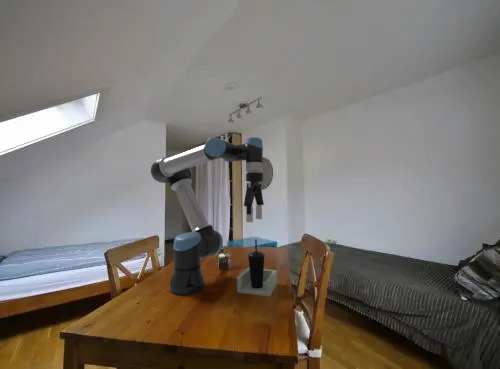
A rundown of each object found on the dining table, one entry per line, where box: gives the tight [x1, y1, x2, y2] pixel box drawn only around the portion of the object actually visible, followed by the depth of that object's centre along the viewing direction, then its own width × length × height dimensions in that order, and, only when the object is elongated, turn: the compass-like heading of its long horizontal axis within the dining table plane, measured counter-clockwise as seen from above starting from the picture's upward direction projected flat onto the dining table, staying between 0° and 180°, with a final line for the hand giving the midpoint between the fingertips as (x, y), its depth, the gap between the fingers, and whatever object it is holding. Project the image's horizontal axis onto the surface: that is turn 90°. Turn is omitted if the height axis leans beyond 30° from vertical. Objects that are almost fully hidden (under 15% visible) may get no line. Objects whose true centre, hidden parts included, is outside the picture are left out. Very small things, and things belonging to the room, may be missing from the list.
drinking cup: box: [247, 239, 266, 288], centre depth 101 cm, size 8×8×20 cm
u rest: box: [236, 267, 278, 297], centre depth 101 cm, size 14×14×6 cm
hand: (254, 220), depth 103 cm, fingers open, 13 cm apart
